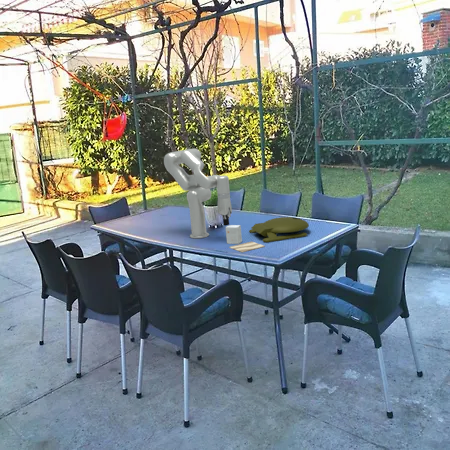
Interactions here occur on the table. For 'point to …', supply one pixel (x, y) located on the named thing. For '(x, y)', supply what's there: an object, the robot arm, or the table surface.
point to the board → (247, 246)
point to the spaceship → (280, 228)
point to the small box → (233, 234)
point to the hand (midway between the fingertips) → (226, 225)
